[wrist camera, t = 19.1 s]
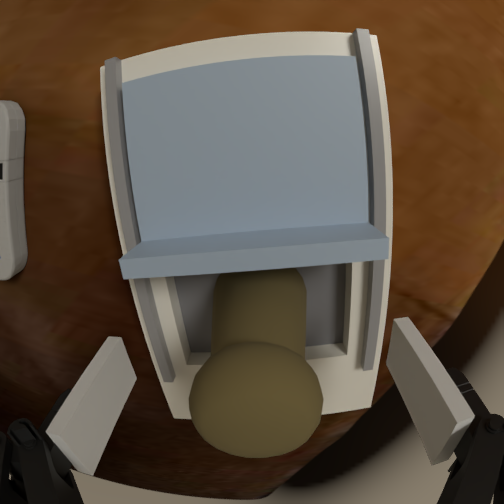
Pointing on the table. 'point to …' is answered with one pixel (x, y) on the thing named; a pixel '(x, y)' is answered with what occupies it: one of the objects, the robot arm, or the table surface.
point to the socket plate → (315, 277)
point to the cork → (257, 367)
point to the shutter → (249, 167)
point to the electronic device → (12, 190)
